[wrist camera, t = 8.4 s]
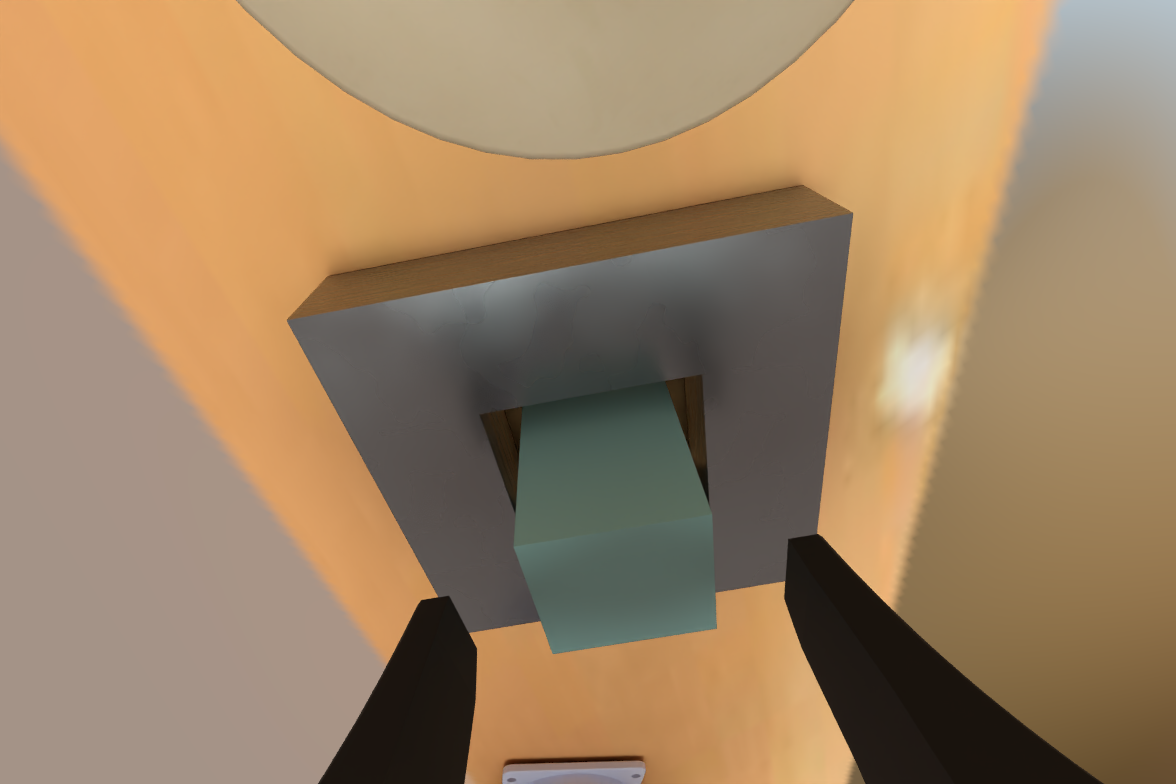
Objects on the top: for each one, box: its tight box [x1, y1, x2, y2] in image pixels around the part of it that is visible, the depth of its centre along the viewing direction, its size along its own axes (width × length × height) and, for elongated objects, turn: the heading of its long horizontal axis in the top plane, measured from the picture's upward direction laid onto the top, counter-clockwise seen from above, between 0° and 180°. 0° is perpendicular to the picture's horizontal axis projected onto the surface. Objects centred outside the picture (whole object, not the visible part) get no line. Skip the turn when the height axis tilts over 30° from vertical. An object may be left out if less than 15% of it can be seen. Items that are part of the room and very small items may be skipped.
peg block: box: [514, 381, 717, 654], centre depth 14 cm, size 4×4×6 cm
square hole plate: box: [287, 185, 853, 633], centre depth 15 cm, size 12×12×2 cm
